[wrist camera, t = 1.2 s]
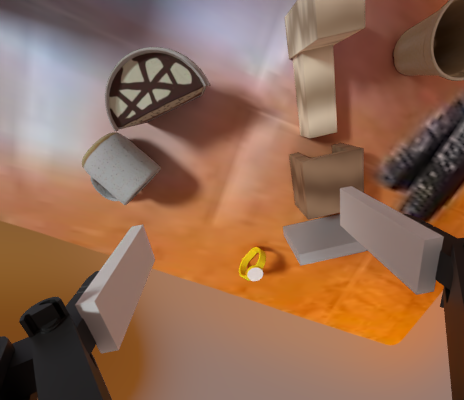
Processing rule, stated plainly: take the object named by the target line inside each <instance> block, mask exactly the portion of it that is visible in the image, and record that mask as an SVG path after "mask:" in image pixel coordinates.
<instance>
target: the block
mask: <svg viewBox="0 0 464 400" xmlns="http://www.w3.org/2000/svg"><path fill="white" fill-rule="evenodd" d="M289 159H290V167H291V175H292V183H293V191H294V199H295V205H296V206H297V207H298V208H299V209H300V211H301V212H302V213H303V214H304V215H305V216H306V218H307V219H308V220H309V219H313V218H318V217H322V216H327V215H331V214H336V213H340V188H344V187H350V186H352V187H354V188H356V189H358V190H359V191H361V192H363V193H364V149H363V148H360V147H356V146H352V145H348V144H344V143H338V144H333V145H332V154H328V155H323V156H319V157H315V158H308V157H306V156H304V155H302V154H300V153H294V154H289Z"/></svg>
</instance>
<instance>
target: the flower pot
mask: <svg viewBox="0 0 464 400" xmlns="http://www.w3.org/2000/svg"><path fill="white" fill-rule="evenodd" d="M393 55H394V65H395V67H396V69H397V70H398V71H399V72H400V73H401V74H404V75H438V76H440V77H443V78H445V79H448V80H453V81H462V80H464V0H449V1H448V2H447V3H446V4H445V5H444V6H443V7H442V8H441V9H440V10H439V11H437V12H436V13H434V14H433V15H431V16H429V17H428V18H426V19H425V20H423V21H422V22H420V23H418V24H417V25H415V26H413V27H412V28H410V29H408V30H407V31H406V32H405V33H404V34H403V35H402V36H401V37H400V38H399V40H398V42H397V44H396V46H395V49H394V53H393Z"/></svg>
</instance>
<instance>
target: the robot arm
mask: <svg viewBox="0 0 464 400" xmlns="http://www.w3.org/2000/svg"><path fill="white" fill-rule="evenodd" d="M340 226H341V227H343V228H344V229H345V230H346V231H347V232H348V233H349V234H350V235H351V236H352V237H354V238H355V239H356V240H357V241H358V242H359V243H360V244H361V245H362V246H364V247H365V248H366V249H367V250H368V251H369V252H370V253H371V254H372V255H373V256H375V257H376V258H377V259H378V260H379V261H380V262H381V263H382V264H383V265H384V266H386V267H387V268H388V269H389V270H390V271H391V272H392V273H393V274H394V275H395V276H397V277H398V278H399V279H400V280H401V281H402V282H403V283H404V284H405V285H406V286H408V287H409V288H410V289H411V290H412V291H413V292H414V293H415V294H416V295H417V294H423V293H428V292H433V291H434V288H435V282H436V280H437V281H438V282H440V283H441V284H442V285H444V289H443V295H442V299H441V304H440V307H443V308H444V312H445V323H446V333H447V345H448V356H449V367H450V379H451V389H452V400H464V238H458V239H457V238H456V237H454V236H452V235H450V234H448V233H446V232H444V231H442V230H440V229H438V228H436V227H433V225H431V224H429V223H426V222H425V221H423V220H421V219H419V218H417V217H415V216H411V215H408V214H401V213H400V212H398V211H396V210H394V209H392V208H390V207H389V206H387V205H385V204H383V203H381V202H379V201H378V200H376V199H374V198H372V197H370V196H368V195H367V194H365V193H363V192H361V191H359V190H358V189H356V188H354V187H352V186H350V187H344V188H340ZM154 261H155V258H154V255H153V252H152V249H151V246H150V243H149V240H148V237H147V234H146V232H145V229H144V226H143V225H138V226H133V227H131V228H130V230H129V231H128V232H127V234H126V235H125V237H124V238H123V239H122V241H121V242H120V243H119V245H118V246H117V248H116V249H115V250H114V252H113V253H112V254H111V256H110V257H109V259H108V260H107V261H106V263H105V264H104V266H103V267H102V268H101V270H100V271H96V272H95V273H93V274H92V275H91V276H90V277H88V279H87V280H86V281H85V282H84V283H83V285H82V286H81V288H79V290H78V291H77V294H75V295H74V297H73V298H72V299H71V300H70V302H69V303H68V304H67V305H66V307H65V305H64V304H63V302H62V300H61V299H60V298H59V297H52V298H48V299H45V300H43V301H41V302H39V303H37V304H35V305H34V306H32V307H31V308H30V309H28V310H27V311H26V312H25V313H24V314H23V315H22V316H21V318H20V324H21V325H22V327H23V328H24V330H25V331H26V333H27V334H28V336H29V337H28V338H25V339H23V340H20V341H18V342H15V343H13V344H11V342H10V341H9V339H8V338H6V337H0V400H37V399H38V400H112V399H111V396H110V394H109V392H108V389H107V387H106V385H105V382H104V380H103V378H102V375H101V373H100V371H99V368H98V366H97V364H96V362H95V359H94V357H93V355H92V353H91V352H92V350H93V348H94V347H95V344H96V345H97V347H98V349H99V350H100V352H101V353H106V352H111V351H116V350H119V348H120V345H121V342H122V340H123V337H124V335H125V333H126V330H127V328H128V325H129V323H130V320H131V318H132V315H133V313H134V311H135V308H136V306H137V303H138V301H139V298H140V296H141V293H142V290H143V288H144V285H145V283H146V281H147V278H148V276H149V273H150V271H151V268H152V266H153V263H154Z"/></svg>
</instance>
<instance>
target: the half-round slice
mask: <svg viewBox="0 0 464 400" xmlns="http://www.w3.org/2000/svg"><path fill="white" fill-rule="evenodd" d="M206 86H210V83H209V81H208V79H207V77H206V76H205V75H204V73H203V72H202V70H201V69H200V68H199V67H198V66H197V65H196V64H195V63H194V62H193V61H192V60H190V59H189V58H188V57H186V56H184V55H183V54H181V53H179V52H177V51H174V50H171V49H167V48H161V47H147V48H142V49H138V50H136V51H133V52H131V53H130V54H128V55H126V56H125V57H123V58H122V59H121V60H120V61H119V62H118V63H117V65H116V66H115V67H114V69H113V70H112V72H111V74H110V76H109V79H108V82H107V86H106V93H105V103H106V110H107V115H108V118H109V120H110V123H111V125H112V127H113V129H114V131H118V129H123V128H127V127H131V126H135V125H139V124H143V123H147V122H149V121H151V120H153V119H155V118H157V117H159V116H161V115H163V114H165V113H167V112H169V111H171V110H173V109H175V108H177V107H179V106H181V105H184V104H186V103H188V102H190V101H192V100H194V99H196V98H198V97H200V96H202V95H203V92H204V90H205V87H206Z"/></svg>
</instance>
